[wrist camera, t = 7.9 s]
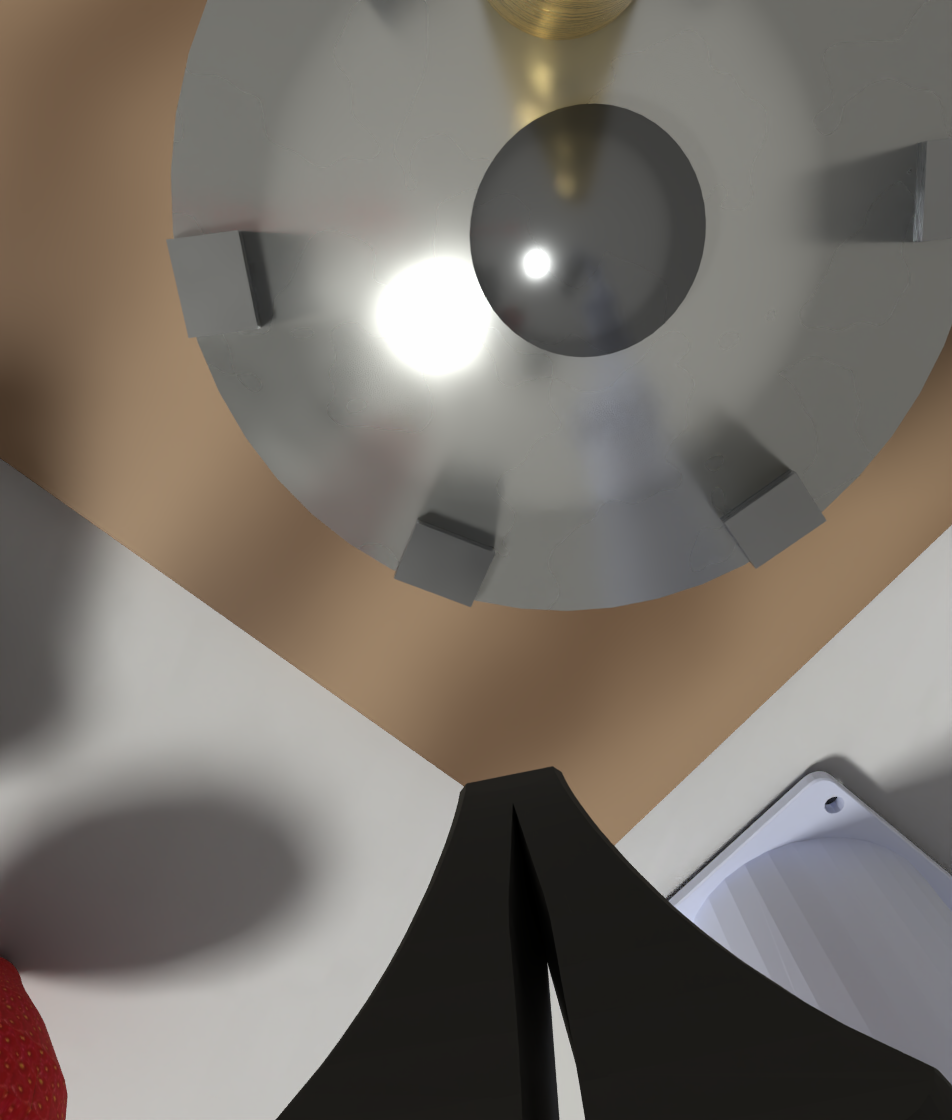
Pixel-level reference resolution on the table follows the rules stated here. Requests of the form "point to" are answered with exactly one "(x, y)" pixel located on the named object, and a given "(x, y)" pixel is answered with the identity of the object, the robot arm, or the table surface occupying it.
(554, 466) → the round metal turntable
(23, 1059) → the strawberry
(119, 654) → the table surface
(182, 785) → the table surface
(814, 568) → the base plate
